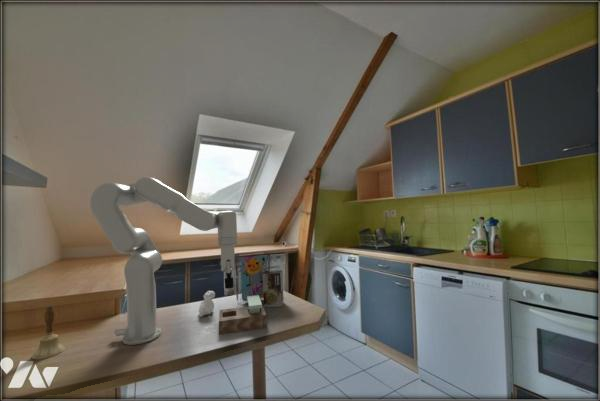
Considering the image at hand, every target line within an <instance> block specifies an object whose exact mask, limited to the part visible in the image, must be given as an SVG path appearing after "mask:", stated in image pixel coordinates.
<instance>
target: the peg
mask: <svg viewBox="0 0 600 401" xmlns="http://www.w3.org/2000/svg"><path fill="white" fill-rule="evenodd" d="M226 270H227V269H226ZM230 270H231V268H230ZM232 277H233V288H228V289H225V270H223V289H224V291H223V292H224V296H226V297H229V296H230V297H231V296H234V295H236V290H235V289H236V288H235V269H234V270H232Z"/></svg>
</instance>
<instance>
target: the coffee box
mask: <svg viewBox="0 0 600 401" xmlns="http://www.w3.org/2000/svg"><path fill="white" fill-rule="evenodd" d="M262 276H263V298H262V299H263V308H275V307H276V308H279V307H280V308H282V307H283V305H284V302H285V299H284V298H285V297H284V281H283V280H284V279H283V278H284V275H283V269H277V270H274V269H270V271H268V270H267V271H265V272H264V273H263V274H262Z"/></svg>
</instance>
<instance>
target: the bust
mask: <svg viewBox="0 0 600 401" xmlns="http://www.w3.org/2000/svg"><path fill="white" fill-rule="evenodd" d="M215 297H216V293H215V291H214V290H207V291H206V292H205V293H204V294H203V299H204V300H202V301H201V303H200V306H199V307H198V314H199V317H200V318H202V317H204V316H206V315H207V316H208V315H211V314H212V313H213V311H214V309H215V303H214V301H213V299H214V298H215Z"/></svg>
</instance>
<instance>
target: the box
mask: <svg viewBox="0 0 600 401" xmlns="http://www.w3.org/2000/svg"><path fill="white" fill-rule="evenodd" d="M242 256H243V257H242ZM271 263H272V260H271V253H269V252H267V251H266V252H260V251H259V252H252V253H250V252H249V253H240V254H239V253H238V255H235V260H234V266H235V289H236V290H235V296H236V302H239V303H237V305H240V304H242V302H243V303H244V302H248V301H247V297H248V296H256V295H259V298H260V300H261V299H264V298H263V276H262V274H263V273H264V272H265V271H271ZM219 265H220V267H221V260H219ZM238 265H240V271H238ZM239 272H240V275H239ZM238 278H239V280H238ZM239 284H240V287H239ZM239 288H240V290H239ZM239 291H240V293H239ZM239 294H240V295H239ZM239 300H240V301H239Z"/></svg>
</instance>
